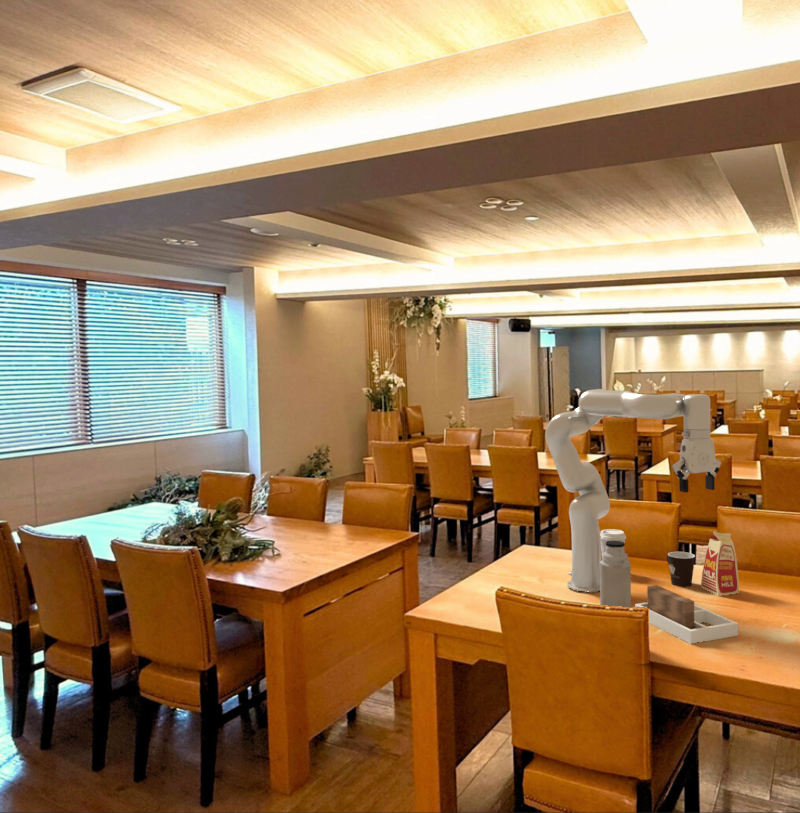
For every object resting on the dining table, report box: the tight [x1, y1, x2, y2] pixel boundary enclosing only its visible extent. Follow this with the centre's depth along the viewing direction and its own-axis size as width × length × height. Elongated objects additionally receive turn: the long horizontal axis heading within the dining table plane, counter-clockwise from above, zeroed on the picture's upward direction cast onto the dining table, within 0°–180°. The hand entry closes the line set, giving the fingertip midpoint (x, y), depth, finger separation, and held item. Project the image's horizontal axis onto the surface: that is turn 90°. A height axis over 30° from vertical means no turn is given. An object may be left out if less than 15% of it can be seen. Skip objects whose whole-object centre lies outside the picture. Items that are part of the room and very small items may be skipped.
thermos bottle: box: [599, 540, 632, 608], centre depth 199 cm, size 8×8×28 cm
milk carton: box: [700, 530, 740, 597], centre depth 241 cm, size 9×9×20 cm
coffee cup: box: [600, 528, 627, 560], centre depth 264 cm, size 10×10×15 cm
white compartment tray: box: [634, 601, 739, 645], centre depth 212 cm, size 24×16×4 cm, turn 19°
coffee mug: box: [666, 551, 696, 588], centre depth 251 cm, size 12×9×10 cm
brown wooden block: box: [646, 584, 695, 629], centre depth 210 cm, size 16×3×10 cm, turn 19°
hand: (697, 490), depth 224 cm, fingers open, 9 cm apart
